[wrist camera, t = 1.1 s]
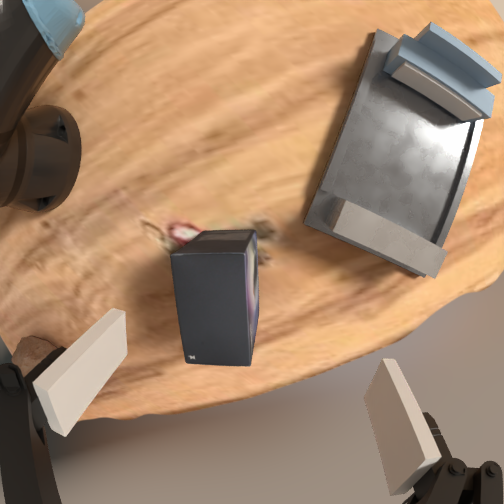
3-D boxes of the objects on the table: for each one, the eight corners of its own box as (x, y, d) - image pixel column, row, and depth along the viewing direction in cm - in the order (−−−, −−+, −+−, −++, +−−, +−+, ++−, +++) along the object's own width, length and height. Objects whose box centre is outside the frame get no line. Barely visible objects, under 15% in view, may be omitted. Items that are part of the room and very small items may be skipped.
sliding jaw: (381, 73, 25) (408, 46, 17) (391, 43, 24) (417, 13, 16) (466, 126, 25) (506, 118, 17) (473, 95, 24) (511, 82, 16)
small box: (262, 317, 34) (253, 370, 24) (208, 316, 35) (183, 366, 25) (259, 228, 32) (248, 253, 22) (200, 229, 33) (165, 254, 22)
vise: (303, 222, 31) (307, 233, 25) (375, 31, 24) (390, 9, 19) (421, 275, 31) (443, 293, 25) (480, 98, 24) (507, 89, 18)
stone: (36, 322, 43) (2, 352, 36) (42, 327, 37) (2, 363, 30) (74, 371, 47) (43, 401, 40) (87, 383, 41) (52, 418, 34)
